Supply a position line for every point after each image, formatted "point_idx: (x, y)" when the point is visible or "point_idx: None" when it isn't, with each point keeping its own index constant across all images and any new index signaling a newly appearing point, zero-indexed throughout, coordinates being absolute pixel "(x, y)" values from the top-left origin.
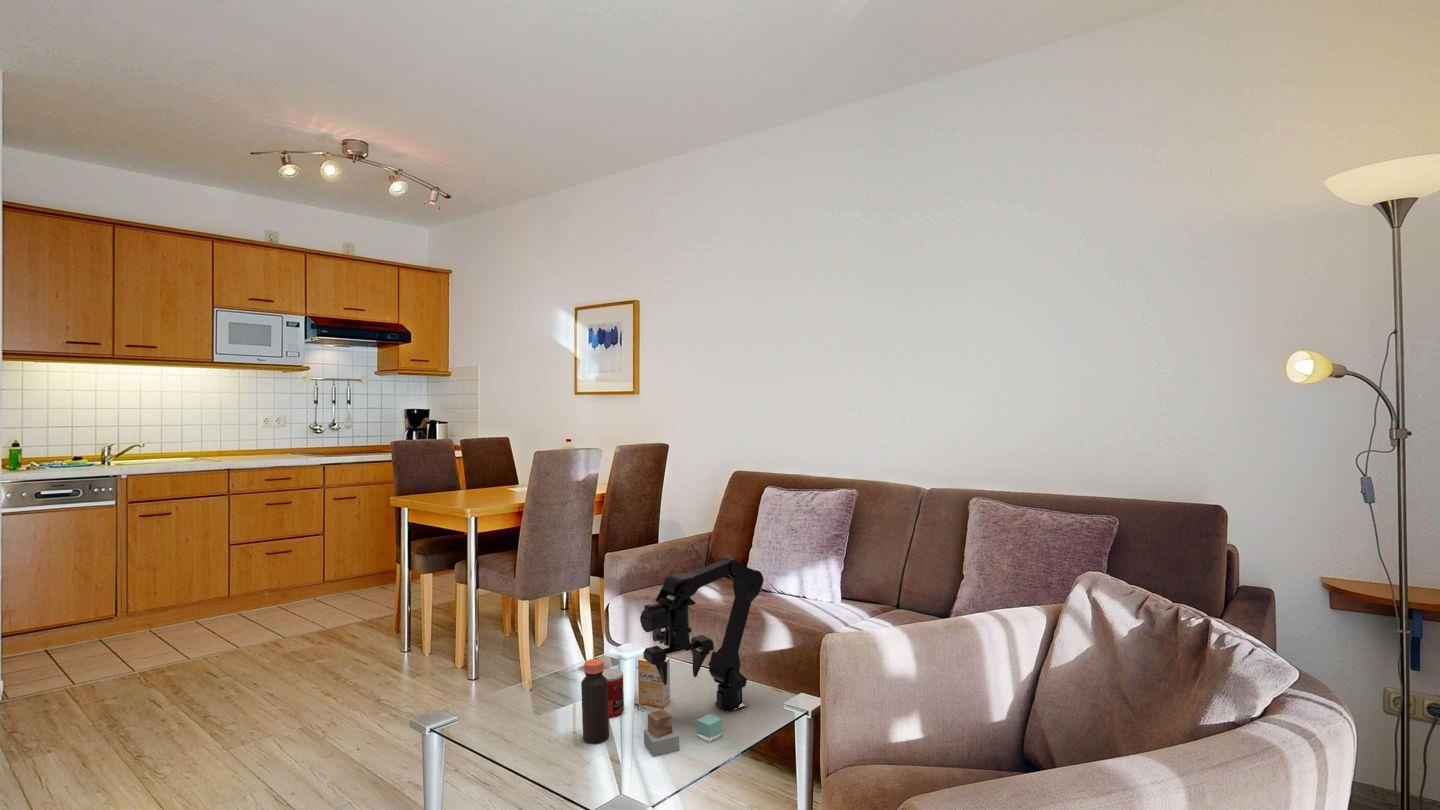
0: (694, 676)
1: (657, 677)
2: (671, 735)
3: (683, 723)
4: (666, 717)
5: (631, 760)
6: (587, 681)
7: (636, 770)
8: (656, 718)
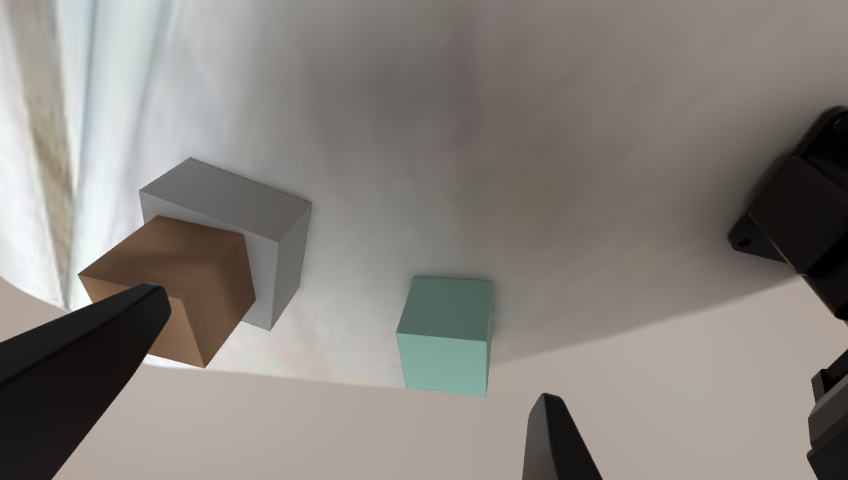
0: (532, 412)
1: None
2: None
3: (455, 144)
4: (174, 358)
5: (115, 212)
6: None
7: None
8: None
